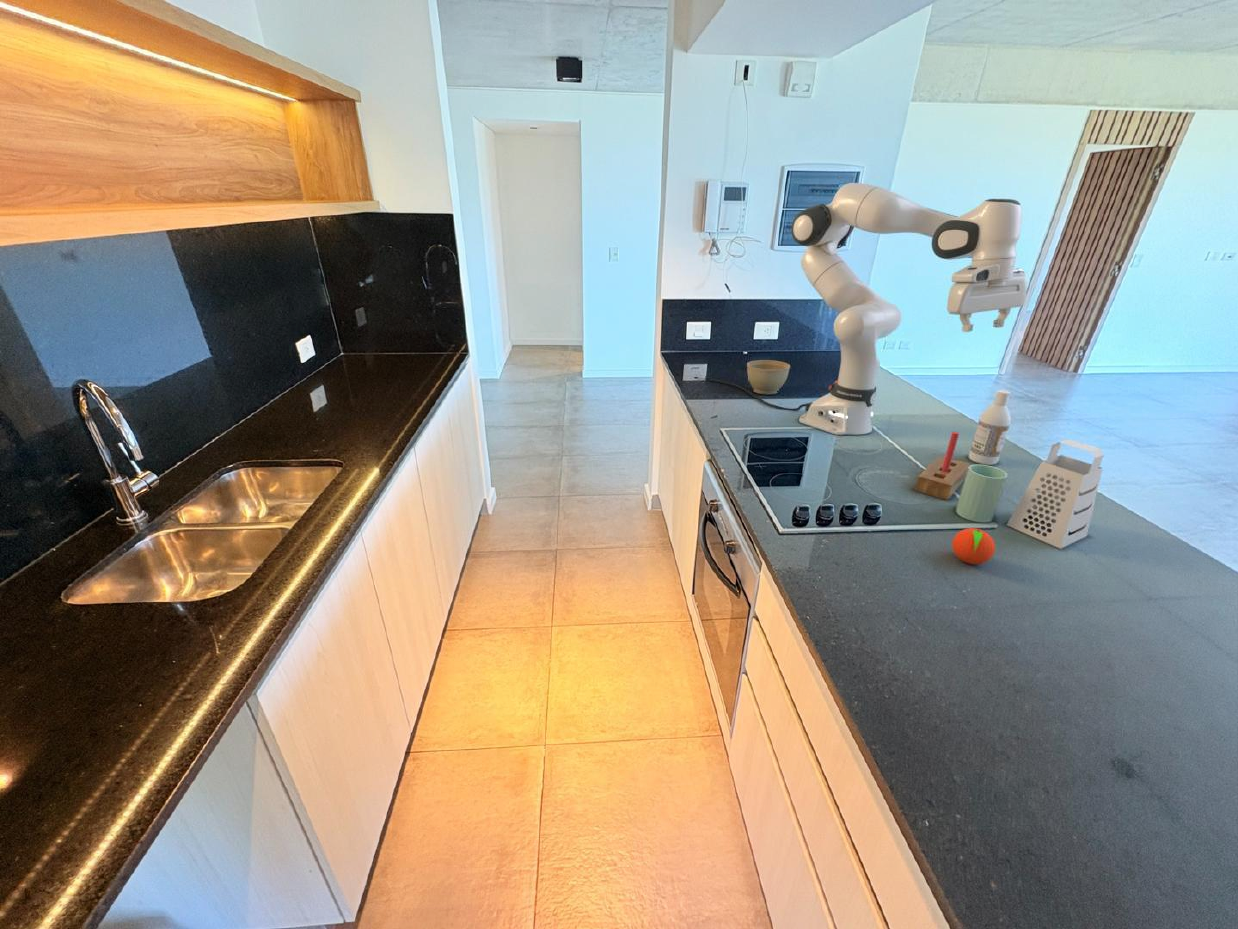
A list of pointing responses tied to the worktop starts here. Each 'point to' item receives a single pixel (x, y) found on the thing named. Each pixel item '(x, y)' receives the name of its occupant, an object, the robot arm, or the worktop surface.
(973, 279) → the robot arm
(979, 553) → the clementine
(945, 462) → the straw
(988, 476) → the cup
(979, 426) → the bath foam
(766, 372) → the planter bowl
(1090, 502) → the grater
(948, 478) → the block
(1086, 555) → the worktop surface
